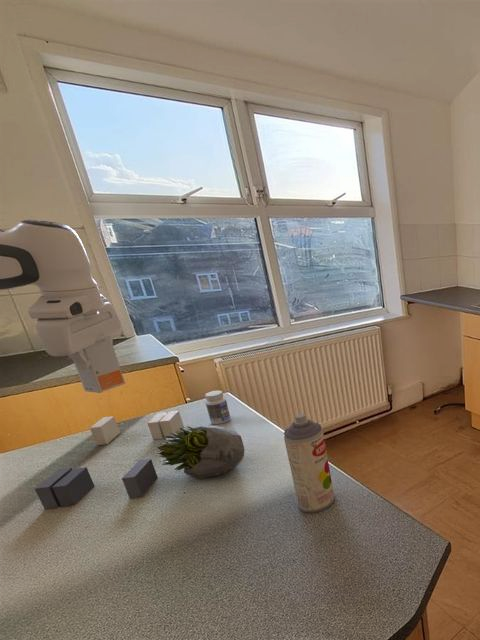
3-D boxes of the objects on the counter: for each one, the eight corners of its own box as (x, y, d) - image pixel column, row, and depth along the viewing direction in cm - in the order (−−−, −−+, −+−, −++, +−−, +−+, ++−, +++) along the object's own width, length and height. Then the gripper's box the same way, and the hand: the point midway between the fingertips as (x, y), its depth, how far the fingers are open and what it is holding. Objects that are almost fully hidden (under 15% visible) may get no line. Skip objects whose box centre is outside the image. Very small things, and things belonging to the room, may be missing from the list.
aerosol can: (329, 512, 86) (313, 423, 78) (293, 514, 85) (273, 424, 77) (338, 491, 92) (324, 407, 84) (305, 492, 91) (288, 408, 84)
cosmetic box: (100, 393, 96) (81, 342, 92) (84, 392, 97) (64, 341, 92) (127, 383, 102) (110, 334, 97) (111, 382, 102) (94, 333, 98)
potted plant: (246, 466, 94) (158, 474, 84) (235, 480, 103) (154, 489, 93) (243, 414, 98) (159, 416, 88) (233, 432, 106) (154, 435, 96)
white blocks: (96, 445, 107) (89, 427, 105) (110, 434, 113) (103, 417, 111) (174, 437, 112) (168, 420, 110) (184, 426, 117) (178, 410, 115)
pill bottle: (227, 423, 119) (220, 395, 116) (208, 425, 118) (200, 397, 115) (233, 415, 123) (226, 389, 120) (214, 417, 122) (207, 390, 119)
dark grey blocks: (44, 509, 85) (34, 488, 83) (67, 488, 91) (58, 468, 89) (142, 497, 89) (134, 476, 87) (158, 477, 95) (151, 458, 93)
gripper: (87, 293, 100) (107, 349, 105) (20, 312, 82) (48, 379, 87) (119, 292, 102) (137, 348, 107) (60, 311, 84) (85, 377, 89)
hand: (97, 362), depth 97 cm, fingers closed on cosmetic box, 7 cm apart
